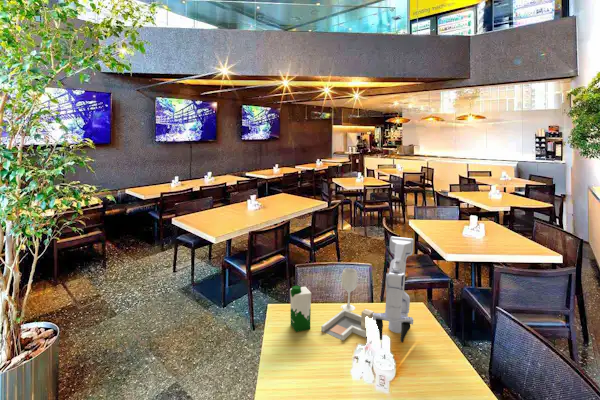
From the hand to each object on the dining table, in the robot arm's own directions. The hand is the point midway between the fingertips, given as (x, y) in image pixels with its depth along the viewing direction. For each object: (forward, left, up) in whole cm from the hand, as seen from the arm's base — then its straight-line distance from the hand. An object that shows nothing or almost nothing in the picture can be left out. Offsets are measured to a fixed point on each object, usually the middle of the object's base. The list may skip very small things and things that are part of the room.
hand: (391, 340), depth 117 cm
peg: (-16, -17, -10) cm, 26 cm away
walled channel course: (-12, -23, -11) cm, 28 cm away
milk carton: (0, -43, -11) cm, 45 cm away
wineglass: (-29, -34, -11) cm, 46 cm away
